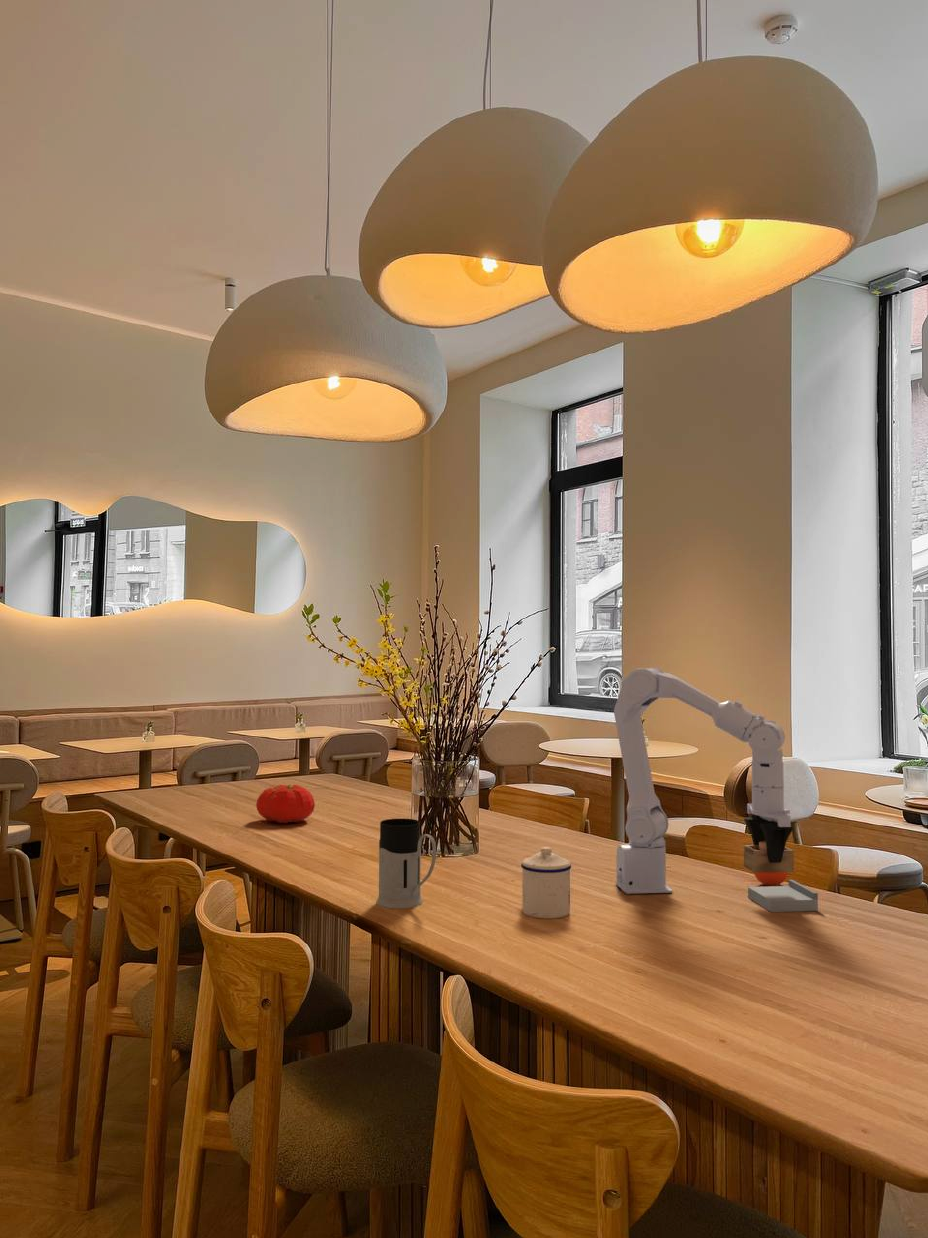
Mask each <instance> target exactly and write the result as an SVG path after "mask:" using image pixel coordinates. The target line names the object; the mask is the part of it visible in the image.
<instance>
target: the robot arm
mask: <svg viewBox="0 0 928 1238" xmlns="http://www.w3.org/2000/svg"><path fill="white" fill-rule="evenodd" d="M661 698H664V699H665V698H666V699H669V698H670V699H677V700H679V701H681V702H682V703H685V704H687V705H689V706H690V707H693V708H695V709H696V710H698V711H700V712H702V713H704V714H706V715H708V716H710V717H711V718H712V720H713V723H714V726H715V727H717V728H718V729H720V730H721V731H723V732H725V733H727V734H729V735H731V736H733V737H734V738H736V739H738V740H739V741H741V742H743V743H748V746H749V747H750V748H751V749H750V750H751V751H752V752H751V756H752V757H751V760H752V761H751V803H747V804H746V809H747V810H746V814H748V815H751V816H750V817H748V816H747V817H744V818H743V819H744V822H745V824H746V826H747V828H748V831H749V833H750V836H751V840H752V842H753V843H752V845H759V842H760V841H766V847H767V855H768V860H769V862H770V863H779V862H781V860H782V857H783V852H784V848H785V847H786V844H787V841H788V839H789V837H790V835H791V834H792V832H793V830H794V827H793V825H791V816H790V814H791V810H790V809H788V808H785V805H784V804H785V802H784V801H785V797H784V794H785V793H784V792H785V791H784V790H785V789H784V781H785V780H784V762H783V758H784V756H783V755H784V754H783V749H782V747H783V745H784V744H785V738H786V735H785V731H784V730H783V728H782V727H781V726H780V725H778V723H776V721H774V720H765V719H766V716H764V715H762V714H760V715H757V714H755V713H754V712H751V711H750V710H748V709H746V708H745V707H743V706H744V705H743V703H742V702H740V701H739V700H735V701H732V700H726V701H724V702H720V701H719V700H717V699H715V698H713V697H712V696H710V695H708V694H707V693H705V692H703V691H702V690H700V689H698V688H696V687H695V686H693V685H692V684H690V683H688V682H687V681H685V680H683V679H682V678H680V677H678V676H675V675H674V674H672V673H669V672H664V671H663V670H661V669H660V668H657V667H649V668H643V667H642V668H641V667H639V668H636V669H634V670H632V671H630V672H629V674H627V675H626V677H625V678H623V680H622V681H621V688H620V692H619V694H618V698H617V701H616V703H615V706H614V708H613V714H614V719H615V725H616V731H617V736H618V737H617V738H618V741H619V747H620V749H619V750H620V753H621V758H622V763H623V769H624V770H623V771H624V776H625V782H626V786H627V791H628V802H627V806H626V813H627V819H626V823H625V833H626V836H627V838H628V843H626V844H619V845H617V848H616V882H615V885H616V886H617V887H619V889H621V890H622V891H623V892H624V893H625V894H627V895H628V894H629V895H631V894H632V895H633V894H635V895H636V894H638V895H639V894H668V893H669V894H671V893H673V892H674V891H673V889H672V888H670V887H669V886H668V885H667V883H666V881H667V880H666V879H667V876H666V875H667V873H666V872H667V869H666V867H667V863H666V861H667V860H666V859H667V858H666V857H667V856H666V855H667V854H666V851H667V850H666V845H667V844H666V840H665V839H664V835H665V834H666V833H667V831H668V828H669V820H668V816H667V814H666V813H665V812H664V810H663V809H662V806H661V801H660V799H659V797H658V796H657V794H656V793H655V787H654V780H653V777H652V771H651V766H650V759H649V755H648V748H647V743H646V739H645V731H644V727H643V722H642V721H643V720H642V715H643V714H644V713H645V711H647V709H648V708H649V707H650V705H651V704H652V703H653V702H655V701H657V700H658V699H661Z"/></svg>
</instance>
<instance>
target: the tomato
mask: <svg viewBox="0 0 928 1238" xmlns="http://www.w3.org/2000/svg"><path fill="white" fill-rule="evenodd" d="M255 805H256V811H257V812H258V814H259V815H260V816H261V817H263V819H265V820H267V821H269V822H271V821H276V822H275V823H278V822H279V823H278V824H281V823H284V824H289V823H292V822H297V823H300V822H301V821H303V820H306V819H307V818H309V817H310V816H311V815H312V813H313V812H314V810H315V806H316V804H315V799H314V797H313V794H311V792H310V791H309V790H308V789H306V788H305V787H303V786H300V785H297V784H293V785H291V784H288V785H287V784H279V785H276V786H273V787H269V788H266V789H264V790H263V791H262V792H261V793H260V794H259V795H258V798H257V799H256V804H255ZM299 821H300V822H299ZM288 822H289V823H288Z"/></svg>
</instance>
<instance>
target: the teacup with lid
mask: <svg viewBox="0 0 928 1238" xmlns="http://www.w3.org/2000/svg"><path fill="white" fill-rule="evenodd" d="M552 851H553V849H552V848H551V847H548V846H542V847H541V848H540V851H539V852H537V853H534V855H532V856H529V857H527V858H526V857H525V858H524V859H523V860H522V861H521V869H522V872H521V873H522V876H521V877H522V881H521V883H522V890H521V892H522V905H521V906H522V907H521V908H522V912H523V913H524V915H526V916H529V917H531V918H537V919H542V920H543V919H545V920H546V919H547V920H548V919H550V920H551V919H560V918H564V917H566V916H568V915H569V914H570V913H571V868H572V864H571V862H570V860H568V859H566V858H563V857H560V855H559V854H556V853H555V852H552Z"/></svg>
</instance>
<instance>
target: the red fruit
mask: <svg viewBox="0 0 928 1238" xmlns="http://www.w3.org/2000/svg"><path fill="white" fill-rule="evenodd" d="M753 875H754V877H755V878H756V880H757V881H759V882H760V884H763V885H765V886H780V885H781V884H782V883H784V881H786V880H787V877H788V875H789V872H769V873H755V872H753Z"/></svg>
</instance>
